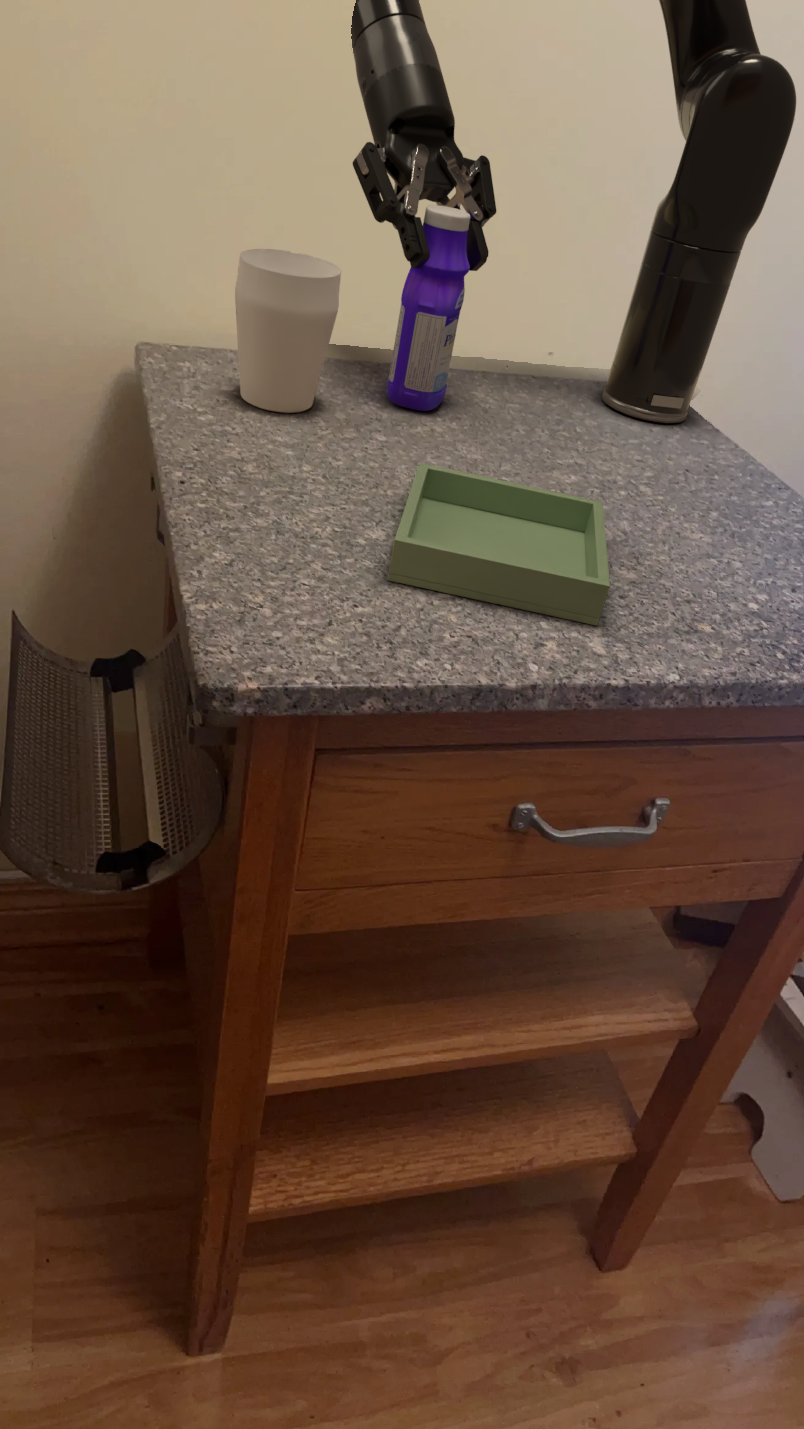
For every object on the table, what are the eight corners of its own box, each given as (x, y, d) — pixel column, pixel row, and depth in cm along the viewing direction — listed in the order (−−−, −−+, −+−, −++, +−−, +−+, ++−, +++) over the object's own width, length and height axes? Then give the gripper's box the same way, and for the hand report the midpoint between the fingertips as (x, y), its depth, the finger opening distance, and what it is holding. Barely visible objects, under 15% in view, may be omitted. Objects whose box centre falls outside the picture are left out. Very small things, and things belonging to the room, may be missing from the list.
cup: (344, 406, 97) (363, 272, 90) (285, 426, 90) (301, 283, 83) (268, 376, 100) (281, 245, 93) (206, 393, 93) (215, 253, 87)
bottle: (435, 419, 99) (474, 222, 89) (378, 405, 99) (410, 208, 89) (447, 397, 104) (485, 211, 95) (393, 384, 105) (425, 197, 95)
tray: (412, 498, 82) (419, 462, 80) (592, 537, 82) (603, 501, 80) (386, 580, 70) (394, 539, 68) (597, 626, 70) (610, 586, 68)
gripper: (354, 48, 87) (405, 237, 86) (488, 71, 94) (536, 245, 94) (316, 108, 93) (363, 285, 92) (445, 125, 101) (489, 289, 100)
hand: (450, 264), depth 93 cm, fingers closed on bottle, 5 cm apart
